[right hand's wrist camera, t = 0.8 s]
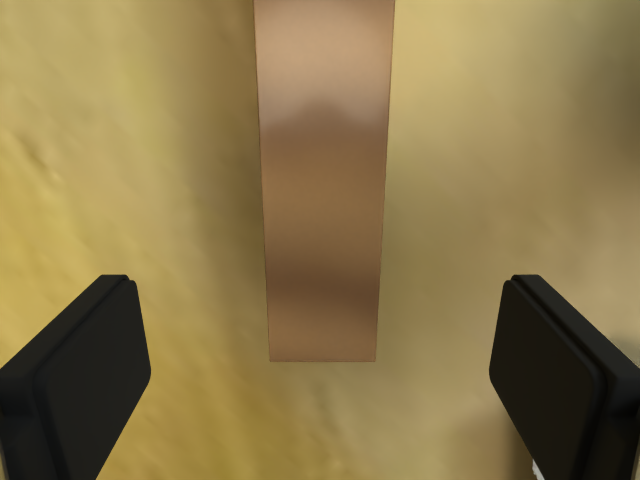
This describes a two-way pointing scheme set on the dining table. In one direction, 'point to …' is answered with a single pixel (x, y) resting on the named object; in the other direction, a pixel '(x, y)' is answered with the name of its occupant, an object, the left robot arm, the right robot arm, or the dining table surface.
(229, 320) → the dining table surface
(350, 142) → the post
